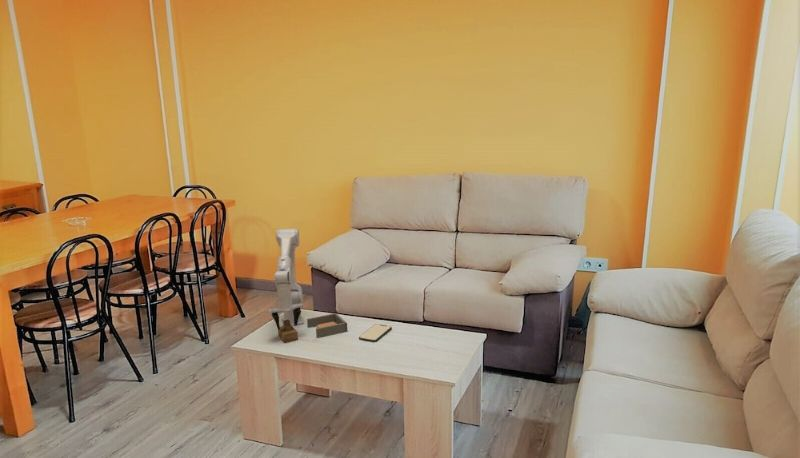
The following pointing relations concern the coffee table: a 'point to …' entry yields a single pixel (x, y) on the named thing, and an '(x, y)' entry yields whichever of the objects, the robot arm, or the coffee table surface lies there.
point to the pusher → (287, 332)
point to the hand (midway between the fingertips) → (287, 326)
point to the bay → (328, 330)
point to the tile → (325, 324)
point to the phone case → (375, 333)
